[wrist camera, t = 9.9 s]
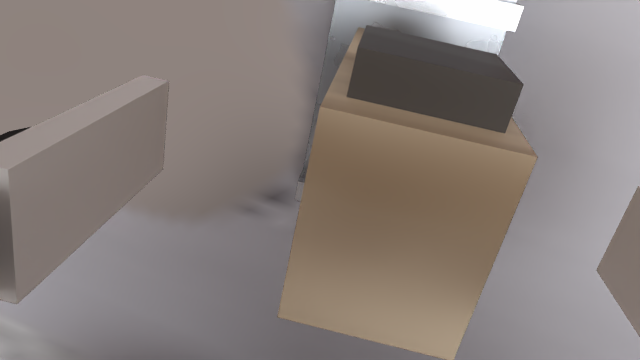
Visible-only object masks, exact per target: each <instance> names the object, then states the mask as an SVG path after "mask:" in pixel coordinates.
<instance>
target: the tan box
mask: <svg viewBox="0 0 640 360" xmlns="http://www.w3.org/2000/svg"><path fill="white" fill-rule="evenodd" d="M522 87H523V83H522V82H521V81H520V80H519V79H518V78H517V77H516V76H515V74H514V73H513V72H512V71H511V70H510V69H509V68H508V67H507V65H506V64H505V63H504V62H503V61H502V60H501V59H500V58H499V56H498V55H497V54H494V53H489V52H485V51H480V50H476V49H472V48H467V47H463V46H458V45H454V44H449V43H445V42H440V41H436V40H432V39H427V38H423V37H418V36H414V35H409V34H405V33H400V32H396V31H391V30H387V29H383V28H378V27H374V26H369V25H366V28H360V27H358V30H357V32H356V34H355V36H354V38H353V40H352V42H351V44H350V46H349V48H348V50H347V52H346V54H345V56H344V58H343V60H342V62H341V65H340V67H339V69H338V71H337V73H336V75H335V77H334V79H333V81H332V83H331V85H330V87H329V89H328V91H327V93H326V95H325V97H324V99H323V102H322V104H321V106H320V109H319V114H318V119H317V124H316V129H315V134H314V139H313V144H312V149H311V154H310V158H309V163H308V168H307V173H306V178H305V183H304V188H303V193H302V198H301V203H300V208H299V213H298V218H297V222H296V227H295V232H294V237H293V242H292V247H291V252H290V257H289V262H288V267H287V272H286V277H285V282H284V286H283V291H282V296H281V301H280V306H279V311H278V316H277V317H278V318H282V319H286V320H290V321H294V322H298V323H302V324H306V325H310V326H314V327H318V328H322V329H326V330H330V331H334V332H338V333H342V334H346V335H350V336H354V337H358V338H362V339H366V340H370V341H374V342H378V343H382V344H386V345H390V346H394V347H398V348H402V349H406V350H410V351H414V352H418V353H422V354H426V355H430V356H434V357H438V358H441V359H445V360H454V358H455V355H456V353H457V350H458V348H459V345H460V343H461V341H462V338H463V336H464V333H465V331H466V329H467V326H468V324H469V321H470V319H471V317H472V314H473V312H474V309H475V307H476V305H477V302H478V300H479V297H480V295H481V292H482V290H483V288H484V285H485V283H486V280H487V278H488V276H489V273H490V271H491V268H492V266H493V264H494V261H495V259H496V256H497V254H498V251H499V249H500V247H501V244H502V242H503V239H504V237H505V235H506V232H507V230H508V227H509V225H510V223H511V220H512V218H513V215H514V213H515V210H516V208H517V206H518V203H519V201H520V198H521V196H522V194H523V191H524V189H525V186H526V184H527V182H528V179H529V177H530V174H531V172H532V170H533V167H534V165H535V162H536V160H537V155H536V154H535V152H534V151H533V149H532V148H531V146H530V145H529V143H528V142H527V140H526V139H525V137H524V135H523V134H522V132H521V131H520V129H519V128H518V126H517V125H516V123H515V122H514V120H513V119H512V114H513V111H514V109H515V106H516V103H517V101H518V98H519V95H520V93H521V90H522Z"/></svg>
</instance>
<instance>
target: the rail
mask: <svg viewBox="0 0 640 360" xmlns="http://www.w3.org/2000/svg"><path fill="white" fill-rule="evenodd" d="M516 2H517V0H336V1H335V6H334V11H333V17H332V22H331V27H330V32H329V38H328V43H327V48H326V53H325V58H324V64H323V69H322V74H321V79H320V84H319V90H318V95H317V100H316V105H315V110H314V116H313V121H312V126H311V131H310V136H309V142H308V147H307V152H306V157H305V162H304V168H303V171H302V173H301V176H300V178H299V180H298V184H297V189H296V195H295V200H297V201H299V202H301V198H302V193H303V188H304V183H305V178H306V173H307V168H308V163H309V158H310V154H311V149H312V144H313V139H314V134H315V129H316V124H317V119H318V114H319V109H320V106H321V104H322V102H323V99H324V97H325V95H326V93H327V91H328V89H329V87H330V85H331V83H332V81H333V79H334V77H335V75H336V73H337V71H338V69H339V67H340V65H341V62H342V60H343V58H344V56H345V54H346V52H347V50H348V48H349V46H350V44H351V42H352V40H353V38H354V36H355V34H356V32H357V30H358V27H360V28H366V25H369V26H374V27H378V28H383V29H387V30H391V31H396V32H400V33H405V34H409V35H414V36H418V37H423V38H427V39H432V40H436V41H440V42H445V43H449V44H454V45H458V46H463V47H467V48H472V49H476V50H480V51H485V52H489V53H494V54H497V55H499V52H500V49H501V46H502V43H503V40H504V37H505V34H506V31H507V30H508V31H513V32H515V31H516V28H517V25H518V22H519V19H520V16H521V14H522V11H523V8H524V6H522V5H520V4H518V3H516Z"/></svg>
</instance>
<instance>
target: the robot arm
mask: <svg viewBox="0 0 640 360" xmlns="http://www.w3.org/2000/svg"><path fill="white" fill-rule="evenodd" d="M168 91H169V81H168V80H164V79H160V78H155V77H151V76H146V75H141V76H140V77H137V78H135V79H133V80H131V81H129V82H126V83H124V84H122V85H120V86H118V87H116V88H114V89H112V90H110V91H107V92H105V93H103V94H101V95H99V96H97V97H95V98H92V99H90V100H88V101H86V102H84V103H82V104H80V105H78V106H75V107H73V108H71V109H69V110H67V111H65V112H63V113H61V114H58V115H56V116H54V117H52V118H50V119H48V120H46V121H43V122H41V123H39V124H37V125H35V126H33V127H28V128H24V129H19V130H14V131H9V132H7V133H5V134H2V135H0V300H2V301H6V302H10V303H14V304H18V303H19V302H20V301H21V300H22V299H23V298H24V297H25V296H27V295H28V294H29V293H30V292H31V291H32V290H33V289H34V288H35V287H36V286H37V285H38V284H40V283H41V282H42V281H43V280H44V279H45V278H46V277H47V276H48V275H49V274H50V273H51V272H53V271H54V270H55V269H56V268H57V267H58V266H59V265H60V264H61V263H62V262H63V261H64V260H66V259H67V258H68V257H69V256H70V255H71V254H72V253H73V252H74V251H75V250H76V249H77V248H79V247H80V246H81V245H82V244H83V243H84V242H85V241H86V240H87V239H88V238H89V237H90V236H92V235H93V234H94V233H95V232H96V231H97V230H98V229H99V228H100V227H101V226H102V225H103V224H105V223H106V222H107V221H108V220H109V219H110V218H111V217H112V216H113V215H114V214H115V213H116V212H118V211H119V210H120V209H121V208H122V207H123V206H124V205H125V204H126V203H127V202H128V201H129V200H131V199H132V198H133V197H134V196H135V195H136V194H137V193H138V192H139V191H140V190H141V189H142V188H143V187H144V186H145V185H147V184H148V183H149V182H150V181H151V180H152V179H153V178H154V177H155V176H156V175H158V174H159V173H160V172H161V171H162V170H163V162H164V148H165V134H166V120H167V105H168ZM596 271H597V272H598V274H599V275H600V277H601V278H602V280H603V281H604V283H605V284H606V286H607V287H608V289H609V290H610V292H611V294H612V295H613V297H614V298H615V300H616V301H617V303H618V304H619V306H620V307H621V309H622V310H623V312H624V314H625V315H626V317H627V318H628V320H629V321H630V323H631V324H632V326H633V327H634V329H635V330H636V332H637V333H638V335H639V337H640V187H639V186H638V188H637V190H636V192H635V194H634V196H633V198H632V200H631V202H630V204H629V206H628V208H627V210H626V212H625V214H624V216H623V218H622V220H621V222H620V224H619V226H618V228H617V230H616V232H615V234H614V236H613V238H612V240H611V242H610V244H609V246H608V248H607V250H606V252H605V254H604V256H603V258H602V260H601V262H600V264H599V266H598V268H597V270H596Z"/></svg>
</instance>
